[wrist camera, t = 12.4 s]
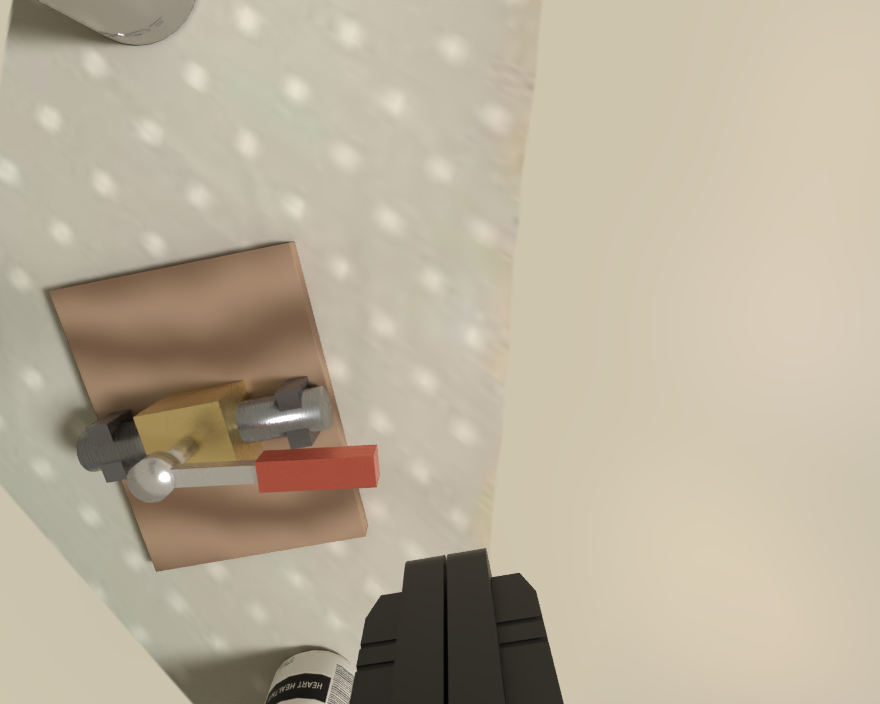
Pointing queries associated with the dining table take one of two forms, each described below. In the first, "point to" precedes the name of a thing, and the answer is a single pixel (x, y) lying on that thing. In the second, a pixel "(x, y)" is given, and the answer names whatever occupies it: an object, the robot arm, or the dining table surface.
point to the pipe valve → (206, 426)
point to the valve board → (203, 365)
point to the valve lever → (260, 471)
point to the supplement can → (312, 679)
